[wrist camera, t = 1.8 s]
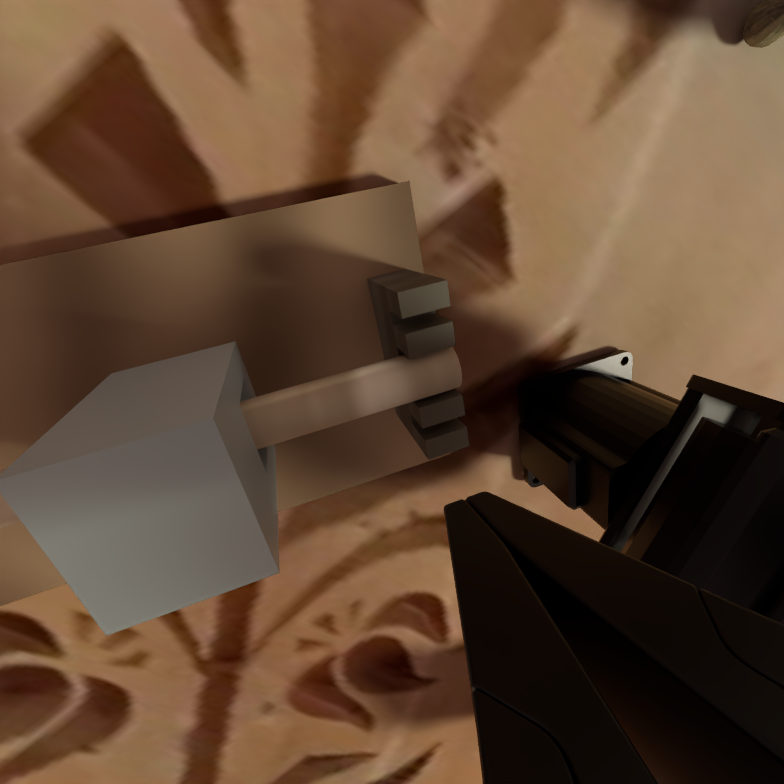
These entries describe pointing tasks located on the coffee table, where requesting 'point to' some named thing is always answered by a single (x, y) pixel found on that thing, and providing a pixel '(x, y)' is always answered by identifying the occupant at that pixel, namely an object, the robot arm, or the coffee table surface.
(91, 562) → the sleeve
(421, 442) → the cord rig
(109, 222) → the coffee table surface
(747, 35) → the tabletop clock
